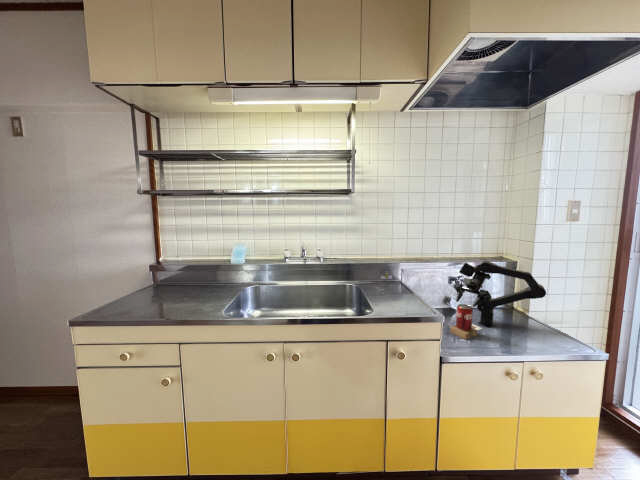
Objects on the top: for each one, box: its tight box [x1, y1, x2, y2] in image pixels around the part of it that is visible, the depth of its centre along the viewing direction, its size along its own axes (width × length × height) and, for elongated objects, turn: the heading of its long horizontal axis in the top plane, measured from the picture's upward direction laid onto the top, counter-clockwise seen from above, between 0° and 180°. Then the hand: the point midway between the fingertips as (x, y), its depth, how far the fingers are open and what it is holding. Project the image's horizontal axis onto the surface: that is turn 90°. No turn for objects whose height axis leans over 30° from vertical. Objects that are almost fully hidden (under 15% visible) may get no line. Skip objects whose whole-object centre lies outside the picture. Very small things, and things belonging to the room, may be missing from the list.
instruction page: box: [472, 323, 483, 331], centre depth 148 cm, size 10×7×1 cm
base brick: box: [449, 324, 478, 341], centre depth 141 cm, size 9×9×3 cm
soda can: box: [455, 303, 474, 331], centre depth 140 cm, size 7×7×12 cm
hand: (464, 304), depth 147 cm, fingers open, 9 cm apart
